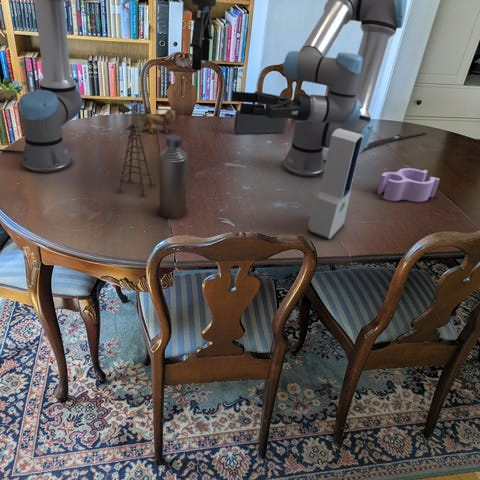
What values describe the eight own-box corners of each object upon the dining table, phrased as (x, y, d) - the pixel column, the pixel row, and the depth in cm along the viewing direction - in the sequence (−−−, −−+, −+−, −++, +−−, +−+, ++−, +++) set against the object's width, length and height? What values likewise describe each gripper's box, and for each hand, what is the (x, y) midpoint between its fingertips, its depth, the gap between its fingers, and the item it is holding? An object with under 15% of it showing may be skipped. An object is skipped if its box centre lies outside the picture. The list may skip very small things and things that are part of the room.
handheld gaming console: (281, 130, 209) (284, 108, 204) (284, 133, 207) (287, 110, 202) (233, 132, 202) (235, 109, 197) (235, 134, 200) (237, 111, 195)
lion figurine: (173, 128, 199) (174, 107, 194) (176, 132, 195) (177, 111, 190) (139, 129, 194) (138, 108, 189) (141, 134, 190) (140, 112, 185)
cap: (166, 147, 127) (166, 139, 126) (166, 141, 130) (166, 134, 129) (180, 148, 127) (181, 140, 126) (181, 142, 131) (181, 135, 129)
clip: (390, 204, 157) (396, 186, 154) (370, 187, 167) (375, 170, 163) (438, 200, 164) (444, 182, 160) (416, 184, 173) (422, 167, 170)
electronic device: (328, 241, 134) (351, 142, 118) (305, 232, 137) (324, 134, 121) (344, 224, 143) (367, 130, 127) (322, 215, 146) (342, 123, 130)
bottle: (158, 218, 136) (158, 143, 124) (160, 205, 143) (159, 133, 130) (185, 218, 138) (188, 145, 125) (185, 206, 144) (188, 134, 132)
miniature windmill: (143, 196, 146) (140, 101, 130) (117, 192, 147) (112, 96, 131) (153, 184, 154) (152, 93, 137) (129, 180, 155) (125, 88, 138)
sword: (406, 133, 221) (407, 131, 220) (412, 136, 219) (412, 133, 218) (363, 145, 205) (363, 143, 204) (368, 148, 203) (369, 145, 202)
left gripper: (209, -5, 127) (205, 75, 138) (223, -12, 148) (218, 58, 159) (181, -8, 127) (180, 72, 139) (199, -15, 148) (197, 55, 160)
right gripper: (318, 133, 127) (242, 128, 122) (293, 109, 148) (227, 104, 143) (324, 105, 123) (246, 99, 118) (297, 85, 144) (230, 78, 140)
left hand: (200, 65), depth 149 cm, fingers open, 13 cm apart
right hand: (236, 101), depth 131 cm, fingers open, 13 cm apart
